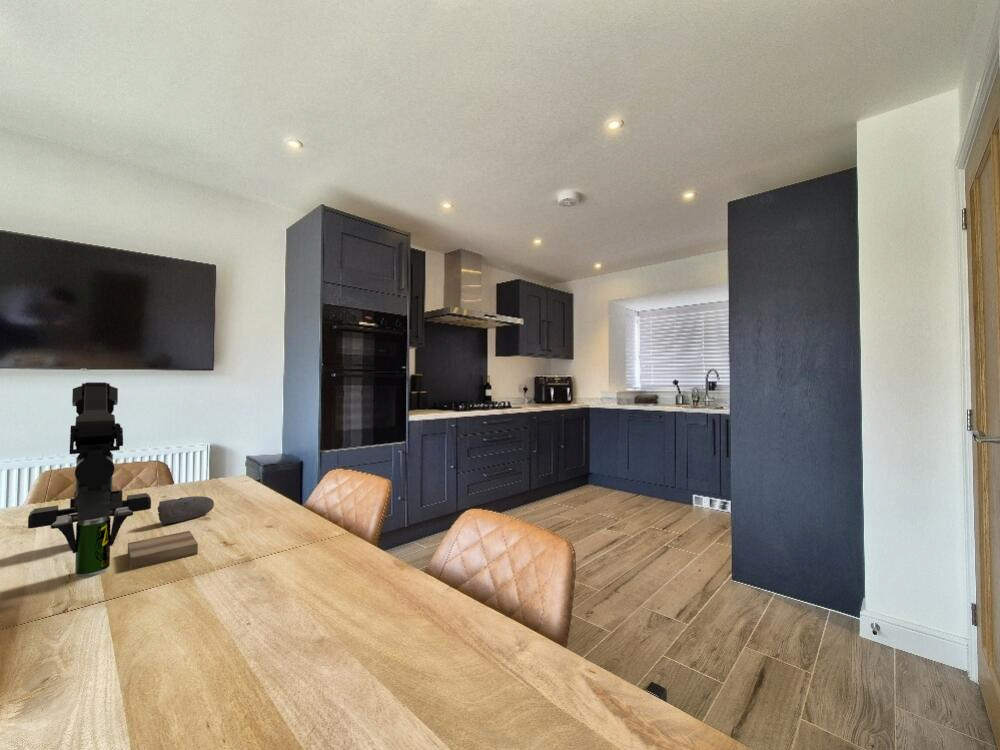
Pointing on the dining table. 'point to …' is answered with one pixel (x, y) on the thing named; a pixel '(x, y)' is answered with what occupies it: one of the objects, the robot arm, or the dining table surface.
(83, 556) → the beer can
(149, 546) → the walnut block
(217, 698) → the dining table surface
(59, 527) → the robot arm
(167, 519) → the perforated stone tool
